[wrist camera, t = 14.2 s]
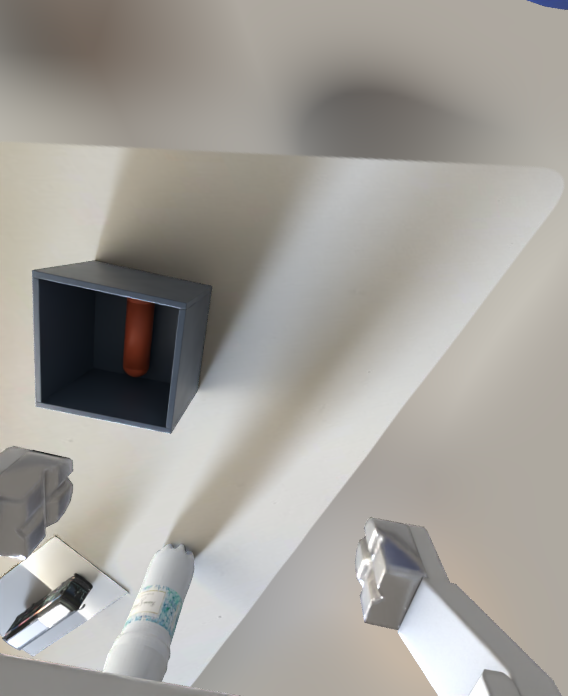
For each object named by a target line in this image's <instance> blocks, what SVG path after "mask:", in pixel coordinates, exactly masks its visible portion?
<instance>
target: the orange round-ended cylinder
mask: <svg viewBox="0 0 568 696" xmlns="http://www.w3.org/2000/svg"><path fill="white" fill-rule="evenodd" d="M154 308H155V303H153V302H148V301H143V300H138V299H134V298H129V297H127V307H126V323H125V339H124V355H123V369H124V371H125V372H126V373H127V374H128V375H129V376H132V377H140V376H143V375H144V374H145V373H146V372H147V371H148V369H149V364H150V353H151V342H152V331H153V320H154Z"/></svg>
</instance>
